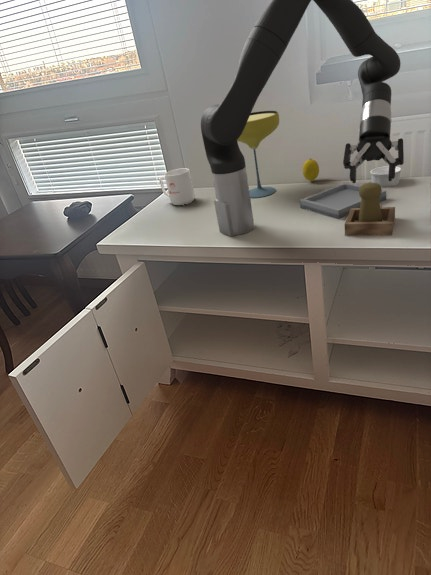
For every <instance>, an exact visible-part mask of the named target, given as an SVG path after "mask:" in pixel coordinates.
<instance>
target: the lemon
mask: <svg viewBox="0 0 431 575" xmlns="http://www.w3.org/2000/svg"><path fill="white" fill-rule="evenodd" d="M319 173H320V167H319V164H318V162H317V161H316V160H314V159H313V158H308V159H307V160H306V161H305V162H304V163H303V166H302V175H303V177H304V178H305V179H306V180H308V181H310V182H314V180H315V179H317V178H318V176H319Z"/></svg>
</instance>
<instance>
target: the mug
mask: <svg viewBox="0 0 431 575" xmlns="http://www.w3.org/2000/svg"><path fill="white" fill-rule="evenodd" d="M190 172H191V171H190V169H189V168H187V167H185V168H183V167H181V168H176V169H171V170H169V171H167V172H165V173H164V174H163V176H161V177H159V178H158V180H159V184H160V188H161V190H162V191H161V192H162V193H163V194H164V195H165V196H167V197H168V198H169V201H170V203H171V204H172V205H174V206H175V205H183V206H185V205H184V204H187V205H189V204H188V203H190V202H192V201H193V202H194V200H195V196H196V195H195V191H194V187H193V182H192V177H191V176H192V175H191V173H190ZM163 179H165V184H166V187H167V191H168V192H167V191H166V188H165V185H164V181H163ZM193 202H192V203H193ZM190 204H191V203H190Z"/></svg>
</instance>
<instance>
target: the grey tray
mask: <svg viewBox="0 0 431 575" xmlns="http://www.w3.org/2000/svg"><path fill="white" fill-rule="evenodd" d="M360 187H361V185H360V184H355V183H349V182H343V183H339V184H338V185H335V186H332V187H330V188H327V189H325V190H322V191H319V192H316V193H314V194H311V195H309V196H305V197H303V198H301V199H299V206H300V209H304V210H306V209H307V211H309V210H310V211H309V212H313V213H316V214H320V215H323V216H327V217H330V218H334V219H336V220H341V219H343V218H345V217H346V218H347V217H348V214H349V212H350V209H351V208H360V205H361V197H360V195H359V188H360ZM379 200H380V203H381V202H383V201H385V200H387V190H384V189H382V192H381V195H380V196H379Z"/></svg>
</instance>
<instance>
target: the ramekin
mask: <svg viewBox="0 0 431 575" xmlns="http://www.w3.org/2000/svg"><path fill="white" fill-rule="evenodd" d="M401 172H402V168H401V167H399V166H398V165H397V166H396V167H395V177H394V179H392V181H389V179H388V177H389V165H385V166H379V167H378V166H377V167H374V168H373V169H371V170H370V172H369V173H370V177H371V179H370V180H371V183H378V184H379V185H380V186H381V188H388V187H393V185H394V186H396V185H398V184H399V182H400V180H401V179H400V178H401Z"/></svg>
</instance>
